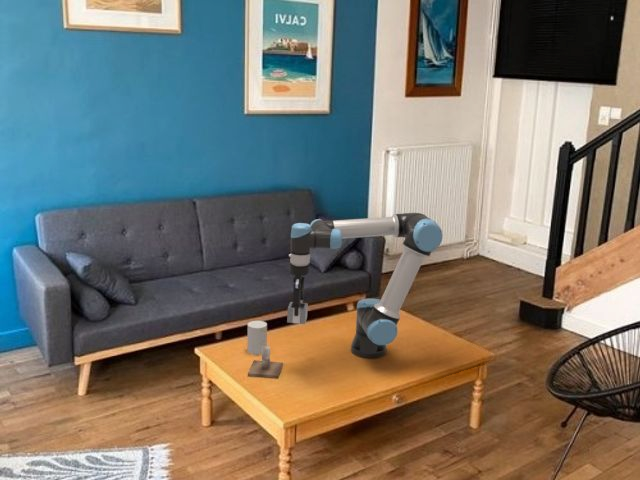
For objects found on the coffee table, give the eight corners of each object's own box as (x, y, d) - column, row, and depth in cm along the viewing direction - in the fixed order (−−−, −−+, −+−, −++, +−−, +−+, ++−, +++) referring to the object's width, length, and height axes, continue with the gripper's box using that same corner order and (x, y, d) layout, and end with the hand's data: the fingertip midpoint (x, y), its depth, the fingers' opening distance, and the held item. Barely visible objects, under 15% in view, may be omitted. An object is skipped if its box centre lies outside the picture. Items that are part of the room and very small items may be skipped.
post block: (282, 365, 275) (283, 341, 273) (278, 378, 264) (278, 354, 261) (253, 362, 277) (253, 339, 274) (247, 376, 265) (247, 352, 262)
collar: (307, 317, 270) (307, 303, 268) (304, 324, 263) (305, 309, 262) (289, 315, 271) (290, 301, 269) (287, 322, 264) (287, 307, 262)
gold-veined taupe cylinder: (263, 355, 284) (263, 329, 280) (244, 353, 285) (245, 326, 282) (268, 347, 291) (269, 321, 288) (250, 345, 293) (250, 319, 290)
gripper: (293, 255, 271) (291, 309, 277) (286, 270, 252) (284, 328, 258) (312, 257, 270) (310, 311, 276) (306, 271, 251) (303, 329, 257)
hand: (297, 319), depth 267 cm, fingers closed on collar, 7 cm apart
